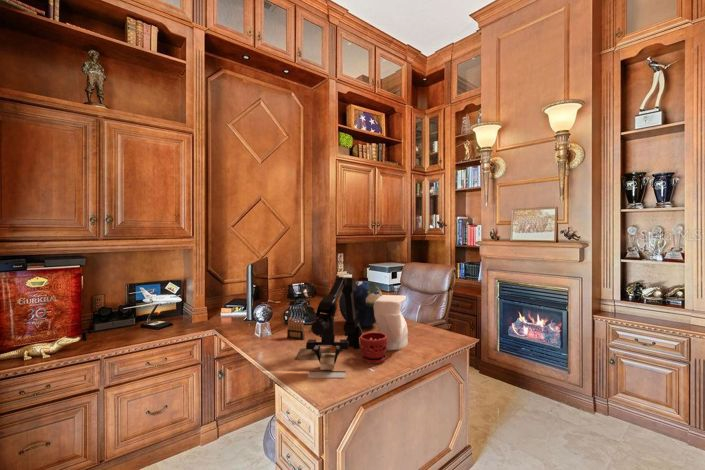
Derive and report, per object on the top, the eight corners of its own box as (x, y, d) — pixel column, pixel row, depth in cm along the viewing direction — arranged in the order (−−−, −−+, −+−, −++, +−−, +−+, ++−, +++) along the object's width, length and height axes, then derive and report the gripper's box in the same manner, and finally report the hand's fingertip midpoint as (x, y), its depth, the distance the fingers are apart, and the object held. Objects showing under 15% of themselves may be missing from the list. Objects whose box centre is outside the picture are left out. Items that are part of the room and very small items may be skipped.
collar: (334, 364, 150) (334, 353, 150) (334, 369, 144) (333, 358, 144) (321, 364, 150) (321, 353, 150) (320, 369, 144) (320, 358, 144)
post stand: (330, 350, 173) (330, 337, 173) (327, 362, 157) (327, 348, 157) (300, 350, 173) (300, 337, 173) (294, 362, 157) (294, 348, 157)
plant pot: (383, 354, 167) (383, 330, 167) (390, 364, 154) (390, 339, 154) (357, 355, 165) (357, 332, 165) (362, 366, 152) (362, 340, 152)
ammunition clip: (287, 337, 193) (287, 317, 193) (288, 337, 195) (288, 316, 195) (303, 340, 190) (302, 319, 189) (304, 339, 191) (304, 318, 191)
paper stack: (413, 340, 188) (413, 295, 187) (400, 357, 163) (400, 305, 163) (378, 336, 196) (378, 293, 196) (361, 351, 171) (361, 302, 171)
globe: (332, 323, 224) (332, 279, 224) (371, 318, 237) (371, 276, 236) (350, 335, 197) (350, 285, 196) (393, 329, 209) (393, 282, 209)
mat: (346, 364, 154) (346, 364, 154) (345, 378, 140) (345, 377, 140) (312, 364, 154) (312, 363, 154) (307, 378, 140) (307, 377, 140)
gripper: (349, 323, 155) (349, 356, 155) (309, 323, 155) (309, 356, 155) (348, 330, 144) (348, 366, 144) (305, 330, 144) (305, 366, 144)
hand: (327, 363), depth 147 cm, fingers closed on collar, 6 cm apart
